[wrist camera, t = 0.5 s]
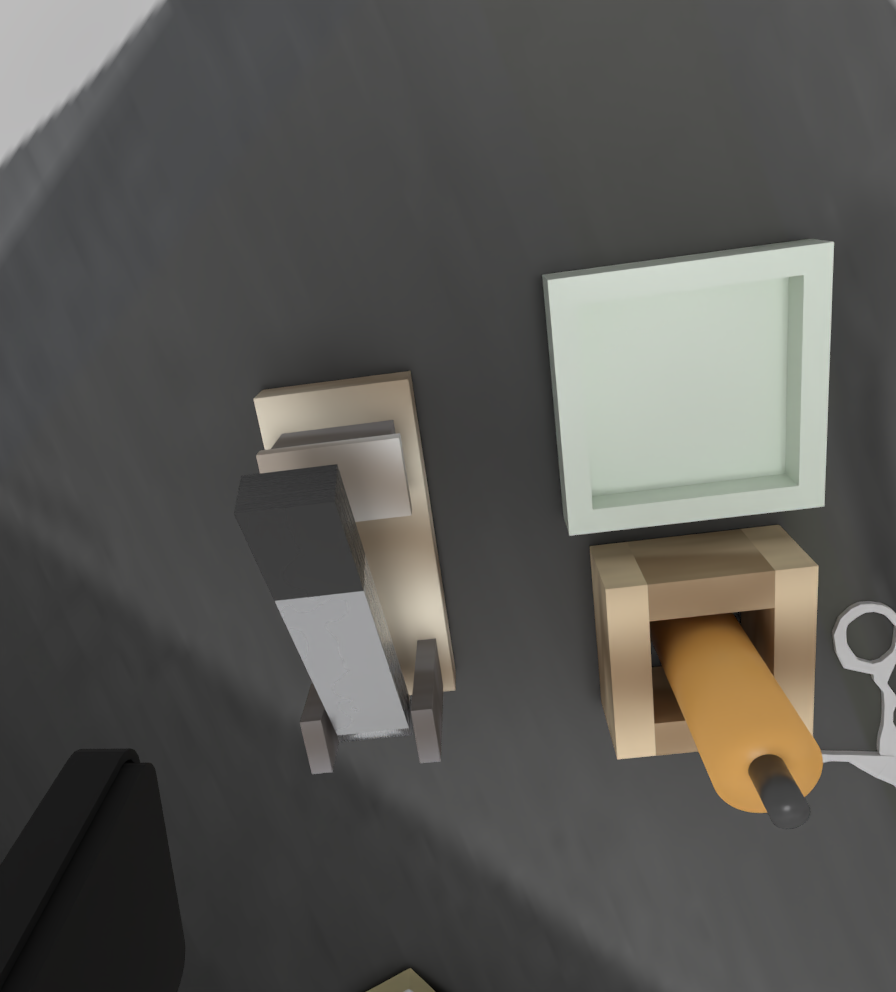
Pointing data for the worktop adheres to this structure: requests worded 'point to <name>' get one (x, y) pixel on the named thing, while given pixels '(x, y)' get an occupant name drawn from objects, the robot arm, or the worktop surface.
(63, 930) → the robot arm
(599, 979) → the worktop surface
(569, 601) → the worktop surface
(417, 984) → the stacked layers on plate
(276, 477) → the lever
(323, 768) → the base
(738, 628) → the plug
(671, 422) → the tray
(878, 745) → the scissors
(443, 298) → the worktop surface
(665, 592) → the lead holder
